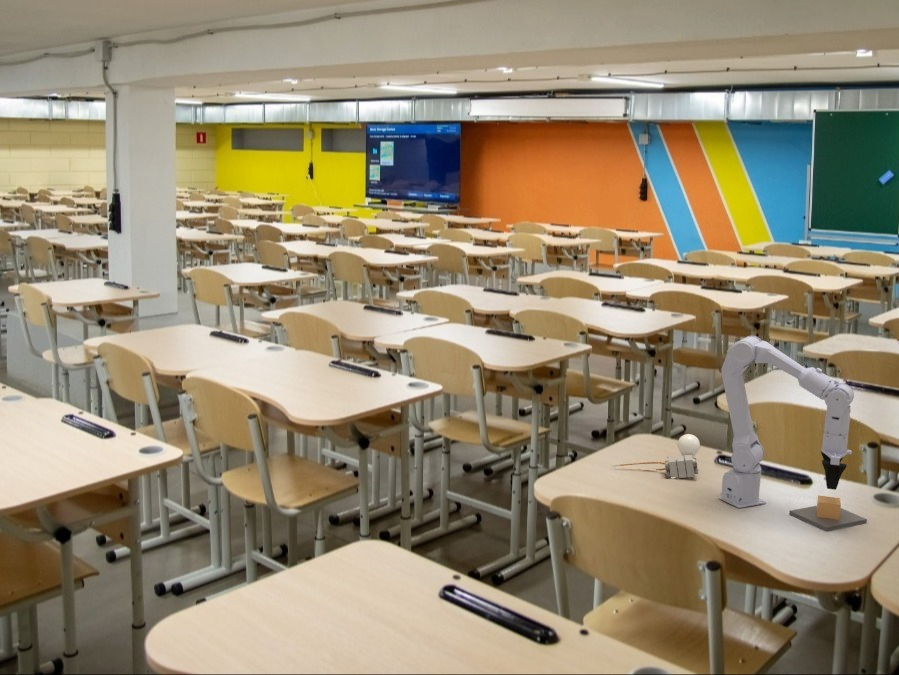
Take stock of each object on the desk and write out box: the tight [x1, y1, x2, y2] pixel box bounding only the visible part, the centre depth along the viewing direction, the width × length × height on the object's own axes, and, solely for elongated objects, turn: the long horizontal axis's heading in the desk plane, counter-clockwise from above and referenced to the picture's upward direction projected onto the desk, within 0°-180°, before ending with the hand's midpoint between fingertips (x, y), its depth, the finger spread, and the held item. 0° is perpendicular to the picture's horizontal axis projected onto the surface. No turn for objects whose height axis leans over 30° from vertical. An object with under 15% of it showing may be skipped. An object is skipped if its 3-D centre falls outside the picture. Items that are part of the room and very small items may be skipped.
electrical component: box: [613, 455, 699, 479], centre depth 268 cm, size 24×6×5 cm, turn 78°
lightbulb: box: [677, 433, 701, 459], centre depth 271 cm, size 6×6×11 cm
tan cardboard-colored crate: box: [816, 494, 842, 520], centre depth 236 cm, size 5×5×4 cm
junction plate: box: [788, 505, 868, 532], centre depth 236 cm, size 14×12×4 cm
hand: (830, 484), depth 235 cm, fingers open, 7 cm apart
